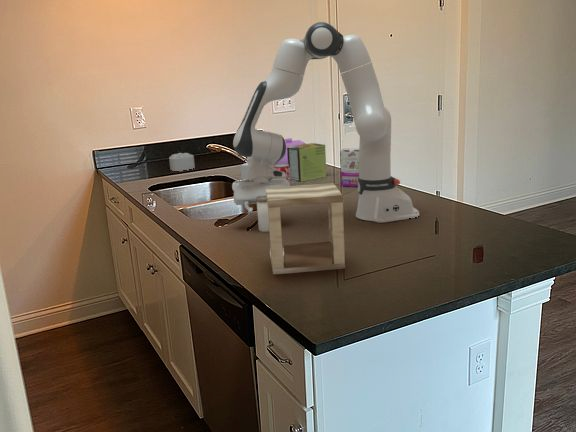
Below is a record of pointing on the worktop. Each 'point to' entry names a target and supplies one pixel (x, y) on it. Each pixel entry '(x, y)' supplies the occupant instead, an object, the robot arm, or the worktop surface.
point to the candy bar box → (349, 167)
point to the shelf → (310, 253)
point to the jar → (262, 213)
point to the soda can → (284, 170)
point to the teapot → (288, 144)
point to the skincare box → (244, 171)
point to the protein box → (307, 161)
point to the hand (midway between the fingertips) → (264, 212)
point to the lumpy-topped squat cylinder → (181, 162)
